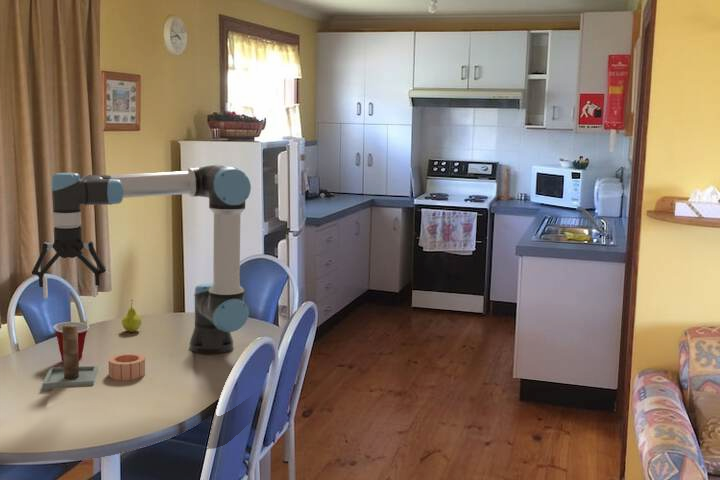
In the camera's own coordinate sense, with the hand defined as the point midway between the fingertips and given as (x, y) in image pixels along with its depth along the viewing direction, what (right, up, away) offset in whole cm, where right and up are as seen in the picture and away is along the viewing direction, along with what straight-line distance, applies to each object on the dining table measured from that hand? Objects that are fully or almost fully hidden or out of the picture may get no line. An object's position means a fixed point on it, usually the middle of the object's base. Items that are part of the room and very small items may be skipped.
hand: (70, 296), depth 216 cm
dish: (-1, -26, +4) cm, 26 cm away
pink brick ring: (+14, -26, +9) cm, 30 cm away
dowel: (-1, -25, +4) cm, 25 cm away
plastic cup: (-8, -23, +22) cm, 33 cm away
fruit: (0, -18, +56) cm, 59 cm away
